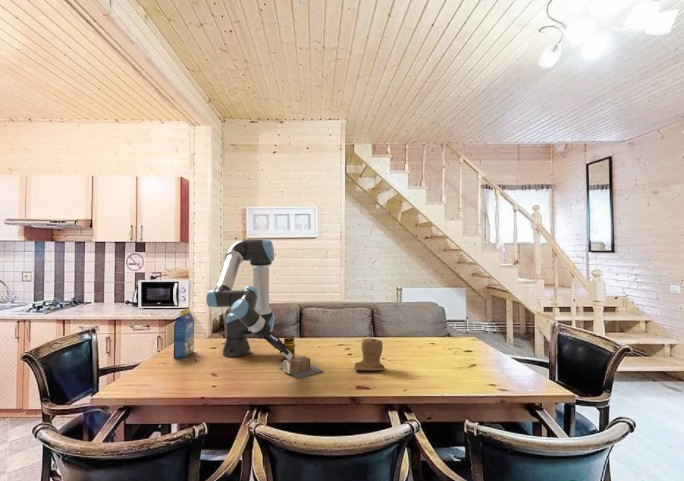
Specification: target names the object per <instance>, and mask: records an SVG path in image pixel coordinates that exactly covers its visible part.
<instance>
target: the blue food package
mask: <svg viewBox="0 0 684 481" xmlns="http://www.w3.org/2000/svg"><path fill="white" fill-rule="evenodd" d="M173 325H174V326H173V327H174V328H173V358H174V359H184V358H186V357H188V356H190V355H191V354H192V353H194V351H195V350H194V349H195V347H194V346H195V319H194V317H193V315H192V314H191V313H190V307H188V308H186V309H183V310H180V311H179V317H178V318H177V319H176V320H175V321H174V324H173Z"/></svg>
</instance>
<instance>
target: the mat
mask: <svg viewBox="0 0 684 481" xmlns="http://www.w3.org/2000/svg"><path fill="white" fill-rule="evenodd" d="M279 370H280V371H283V366H280V367H279ZM323 372H324V370H323V369H321V368H319V367H316V366H314V365H311V364H310V369H307V370H303V371H299V372H295V373H291V374H289V375H290V376H292V377H294V378H296V379H302V378H307V377H310V376H311V377H312V376H313V375H317V374H321V373H323Z"/></svg>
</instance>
